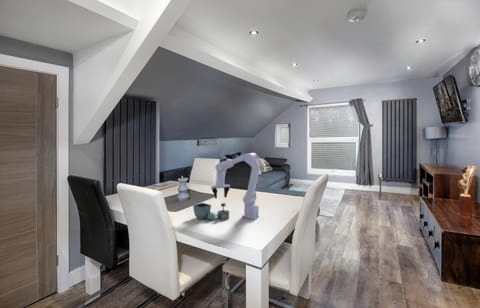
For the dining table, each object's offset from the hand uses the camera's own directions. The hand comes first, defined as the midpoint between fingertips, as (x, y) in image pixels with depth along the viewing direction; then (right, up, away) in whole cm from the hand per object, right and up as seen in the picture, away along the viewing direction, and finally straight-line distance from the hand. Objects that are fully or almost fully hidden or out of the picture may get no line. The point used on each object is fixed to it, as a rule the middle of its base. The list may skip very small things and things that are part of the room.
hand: (220, 197), depth 175 cm
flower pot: (-11, -11, -15) cm, 22 cm away
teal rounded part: (-5, -11, -18) cm, 21 cm away
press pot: (+3, -11, -14) cm, 18 cm away
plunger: (+3, -8, -14) cm, 16 cm away
